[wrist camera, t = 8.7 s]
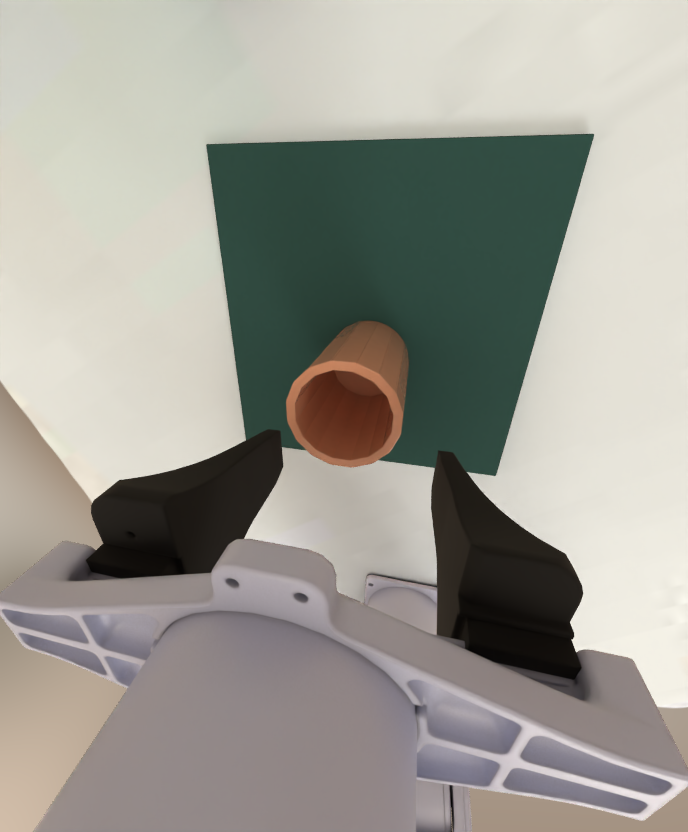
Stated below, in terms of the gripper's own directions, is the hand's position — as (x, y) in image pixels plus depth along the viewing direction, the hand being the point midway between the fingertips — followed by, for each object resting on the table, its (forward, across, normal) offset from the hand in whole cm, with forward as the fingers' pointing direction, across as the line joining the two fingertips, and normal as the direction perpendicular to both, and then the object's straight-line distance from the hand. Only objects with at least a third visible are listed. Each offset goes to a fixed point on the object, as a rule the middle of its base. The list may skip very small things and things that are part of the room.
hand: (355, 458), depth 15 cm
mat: (+10, +1, -3) cm, 11 cm away
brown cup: (+10, +1, -1) cm, 10 cm away
